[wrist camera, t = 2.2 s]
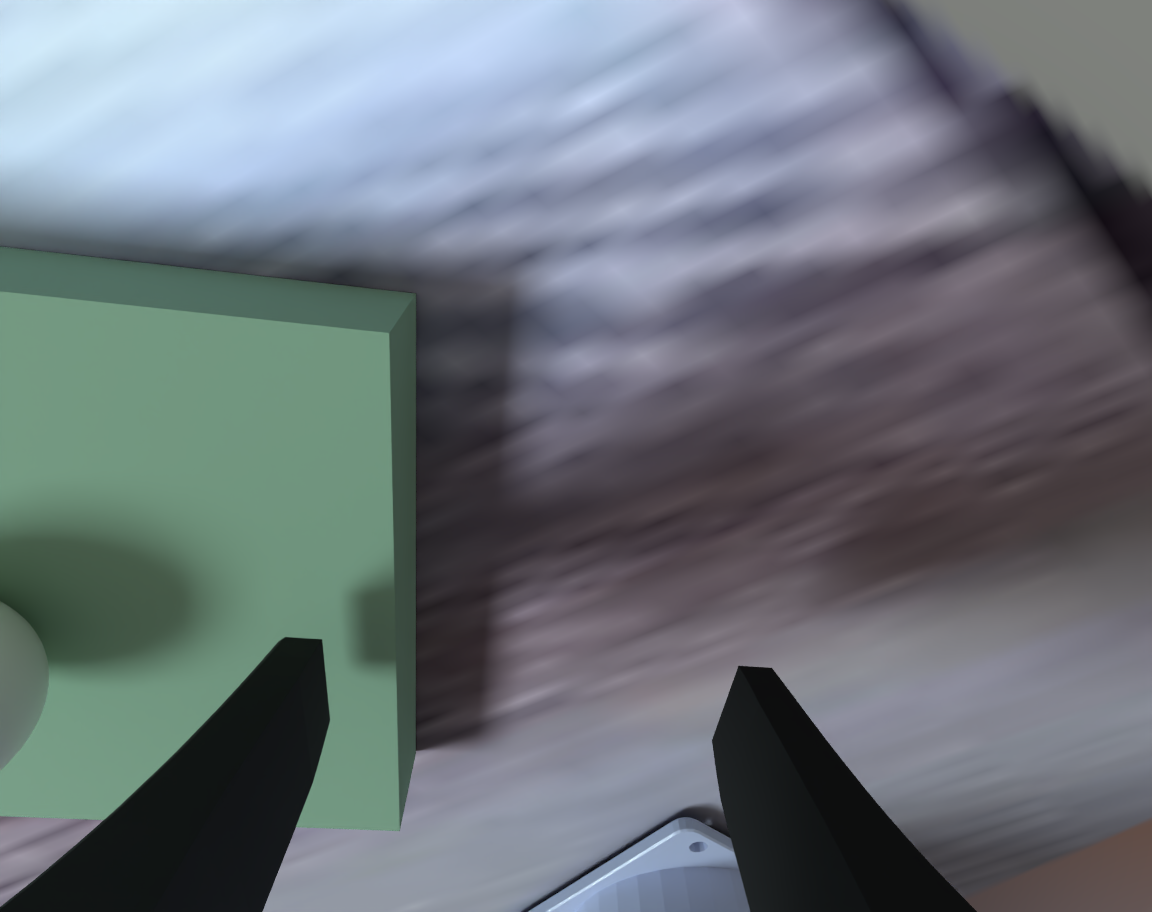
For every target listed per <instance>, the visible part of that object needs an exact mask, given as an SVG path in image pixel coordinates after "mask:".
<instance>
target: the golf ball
mask: <svg viewBox="0 0 1152 912" xmlns="http://www.w3.org/2000/svg"><path fill="white" fill-rule="evenodd" d="M48 687H49V666H48V660H47V656H46V653H45V649H44V647H43V644H42V642H41V640H40V638H39V637H38V635H37V633H36V632H35V630H34V629H33V628H32V626H31V625H30V624H29V623H28V622H27V621H26V620H25V618H23V617H22V616H21V615H20V614H19V613H18V612H16V611H15V610H14V609H12V608H11V607H9V606H8V605H6V604H4V603H3V602H1V601H0V771H1V770H2V769H3V768H4V767H5V766H6V765H7V763H8V762H9V761H10V760H11V759H12V758H13V757H14V756H15V755H16V754H17V753H18V751H19V750H20V749H21V748H22V746H23V745H24V744H25V742H26V741H27V739H28V738H29V737H30V735H31V733H32V731H33V730H34V728H35V726H36V724H37V722H38V720H39V718H40V716H41V714H42V711H43V708H44V705H45V702H46V698H47V693H48Z"/></svg>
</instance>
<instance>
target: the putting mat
mask: <svg viewBox="0 0 1152 912" xmlns="http://www.w3.org/2000/svg"><path fill="white" fill-rule="evenodd" d="M0 601H1V602H3V603H4V604H6V605H8V606H9V607H11V608H12V609H14V610H15V611H16V612H18V613H19V614H20V615H21V616H22V617H23V618H25V620H26V621H27V622H28V623H29V624H30V625H31V626H32V628H33V629H34V630H35V632H36V633H37V635H38V637H39V638H40V640H41V642H42V644H43V647H44V649H45V653H46V656H47V660H48V666H49V687H48V693H47V698H46V702H45V705H44V708H43V711H42V714H41V716H40V718H39V720H38V722H37V724H36V726H35V728H34V730H33V731H32V733H31V735H30V737H29V738H28V739H27V741H26V742H25V744H24V745H23V746H22V748H21V749H20V750H19V751H18V753H17V754H16V755H15V756H14V757H13V758H12V759H11V760H10V761H9V762H8V763H7V765H6V766H5V767H4V768H3V769H2V770H1V771H0V816H13V817H40V818H66V819H93V820H105V819H106V818H107V817H108V816H109V815H110V814H111V813H112V812H114V811H115V810H116V809H117V808H118V807H119V806H120V805H121V804H122V803H123V802H124V801H125V800H126V799H127V798H128V797H130V796H131V795H132V794H133V793H134V792H135V791H136V790H137V789H138V788H139V787H140V786H141V785H142V784H143V783H144V782H145V781H146V780H147V779H148V778H150V777H151V776H152V775H153V774H154V773H155V772H156V771H157V770H158V769H159V768H160V767H161V766H162V765H163V764H164V763H165V762H166V761H167V760H168V759H169V758H170V757H171V756H172V755H173V754H174V753H175V752H176V751H177V750H178V749H179V748H180V747H181V746H182V745H183V744H184V743H185V742H186V741H187V740H188V739H189V738H190V737H191V736H192V735H193V734H194V733H195V732H196V731H197V730H198V729H199V728H200V727H201V726H202V725H203V724H204V723H205V722H206V721H207V720H208V719H209V718H210V716H211V715H212V714H213V713H214V712H215V711H216V710H217V709H218V708H219V707H220V706H221V705H222V704H223V703H224V702H225V701H226V700H227V698H228V697H229V696H230V695H231V694H232V693H233V692H234V691H235V690H236V689H237V688H238V687H239V685H240V684H241V683H242V682H243V681H244V680H245V679H246V678H247V677H248V675H249V674H250V673H251V672H252V671H253V670H254V669H255V668H256V667H257V665H258V664H259V663H260V662H261V661H262V660H263V659H264V657H265V656H266V655H267V654H268V653H269V652H270V651H271V649H272V648H273V647H274V646H275V645H276V644H277V643H278V641H280V640H281V639H283V638H284V637H294V638H309V639H322V643H323V653H324V663H325V673H326V683H327V693H328V703H329V713H330V723H329V727H328V730H327V734H326V738H325V742H324V745H323V749H322V753H321V756H320V760H319V763H318V767H317V770H316V774H315V777H314V781H313V784H312V787H311V789H310V792H309V794H308V797H307V800H306V802H305V805H304V807H303V810H302V812H301V815H300V818H299V820H298V823H297V825H296V827H306V828H333V829H360V830H386V831H400V827H401V822H402V817H403V812H404V807H405V802H406V798H407V793H408V788H409V783H410V778H411V773H412V769H413V764H414V759H415V754H416V294H415V293H406V292H397V291H389V290H380V289H371V288H362V287H353V286H344V285H336V284H327V283H318V282H309V281H300V280H292V279H283V278H274V277H265V276H256V275H247V274H239V273H230V272H221V271H212V270H203V269H194V268H186V267H177V266H168V265H159V264H150V263H141V262H133V261H124V260H115V259H106V258H97V257H89V256H80V255H71V254H62V253H53V252H44V251H36V250H27V249H18V248H9V247H0Z"/></svg>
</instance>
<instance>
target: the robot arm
mask: <svg viewBox="0 0 1152 912" xmlns="http://www.w3.org/2000/svg"><path fill="white" fill-rule="evenodd" d="M329 723H330V713H329V703H328V693H327V683H326V673H325V663H324V653H323V643H322V639H309V638H294V637H284V638H283V639H281V640H280V641H278V643H277V644H276V645H275V646H274V647H273V648H272V649H271V651H270V652H269V653H268V654H267V655H266V656H265V657H264V659H263V660H262V661H261V662H260V663H259V664H258V665H257V667H256V668H255V669H254V670H253V671H252V672H251V673H250V674H249V675H248V677H247V678H246V679H245V680H244V681H243V682H242V683H241V684H240V685H239V687H238V688H237V689H236V690H235V691H234V692H233V693H232V694H231V695H230V696H229V697H228V698H227V700H226V701H225V702H224V703H223V704H222V705H221V706H220V707H219V708H218V709H217V710H216V711H215V712H214V713H213V714H212V715H211V716H210V718H209V719H208V720H207V721H206V722H205V723H204V724H203V725H202V726H201V727H200V728H199V729H198V730H197V731H196V732H195V733H194V734H193V735H192V736H191V737H190V738H189V739H188V740H187V741H186V742H185V743H184V744H183V745H182V746H181V747H180V748H179V749H178V750H177V751H176V752H175V753H174V754H173V755H172V756H171V757H170V758H169V759H168V760H167V761H166V762H165V763H164V764H163V765H162V766H161V767H160V768H159V769H158V770H157V771H156V772H155V773H154V774H153V775H152V776H151V777H150V778H148V779H147V780H146V781H145V782H144V783H143V784H142V785H141V786H140V787H139V788H138V789H137V790H136V791H135V792H134V793H133V794H132V795H131V796H130V797H128V798H127V799H126V800H125V801H124V802H123V803H122V804H121V805H120V806H119V807H118V808H117V809H116V810H115V811H114V812H112V813H111V814H110V815H109V816H108V817H107V818H106V819H105V820H103V821H102V822H101V823H100V824H99V825H98V826H97V827H96V828H95V829H93V830H92V831H91V832H90V833H89V834H88V835H87V836H85V837H84V838H83V839H82V840H81V841H80V842H79V843H77V844H76V845H75V846H74V847H73V848H72V849H70V850H69V851H68V852H67V853H66V854H65V855H63V856H62V857H61V858H60V859H59V860H57V861H56V862H55V863H54V864H53V865H52V866H50V867H49V868H48V869H47V870H46V871H45V872H43V873H42V874H41V875H40V876H38V877H37V878H36V879H35V880H34V881H32V882H31V883H30V884H29V885H27V886H26V887H25V888H24V889H22V890H21V891H20V892H19V893H17V894H16V895H15V896H14V897H12V898H11V899H10V900H9V901H7V902H6V903H5V904H4V905H2V906H1V907H0V912H262V911H263V909H264V906H265V903H266V901H267V898H268V896H269V893H270V891H271V888H272V886H273V883H274V881H275V878H276V876H277V873H278V871H279V868H280V866H281V863H282V861H283V858H284V856H285V853H286V851H287V848H288V845H289V843H290V840H291V838H292V835H293V833H294V830H295V828H296V825H297V823H298V820H299V818H300V815H301V812H302V810H303V807H304V805H305V802H306V800H307V797H308V794H309V792H310V789H311V787H312V784H313V781H314V777H315V774H316V770H317V767H318V763H319V760H320V756H321V753H322V749H323V745H324V742H325V738H326V734H327V730H328V727H329ZM712 744H713V751H714V758H715V765H716V773H717V779H718V785H719V791H720V797H721V803H722V806H723V810H724V814H725V818H726V822H727V826H728V830H729V834H730V837H731V838H729V837H727V836H725V835H724V834H722V833H720V832H718V831H716V830H714V829H712V828H711V827H709V826H707V825H705V824H703V823H701V822H700V821H698V820H696V819H693V818H690V817H683V818H678V819H676V820H673V821H672V822H670V823H668V824H667V825H665V826H664V827H662V828H660V829H659V830H657V831H656V832H654V833H652V834H651V835H649V836H648V837H646V838H644V839H643V840H641V841H640V842H638V843H636V844H635V845H633V846H632V847H630V848H628V849H627V850H625V851H624V852H622V853H620V854H619V855H617V856H616V857H614V858H613V859H611V860H609V861H608V862H606V863H605V864H603V865H601V866H600V867H598V868H597V869H595V870H593V871H592V872H590V873H589V874H587V875H585V876H584V877H582V878H581V879H579V880H577V881H576V882H574V883H573V884H571V885H569V886H568V887H566V888H565V889H563V890H561V891H560V892H558V893H557V894H555V895H553V896H552V897H550V898H549V899H547V900H545V901H544V902H542V903H541V904H539V905H537V906H536V907H534V908H533V909H531V910H529V911H528V912H977V911H976V910H975V909H974V908H973V907H972V906H971V905H970V904H969V903H968V902H967V901H966V900H965V899H964V898H963V897H962V896H961V895H960V894H959V893H958V892H957V891H956V890H955V889H954V888H953V887H952V886H951V885H950V884H949V883H948V882H947V881H946V880H945V879H944V878H943V877H942V876H941V874H940V873H939V872H938V871H937V870H936V869H935V868H934V867H933V866H932V865H931V864H930V863H929V862H928V861H927V860H926V859H925V857H924V856H923V855H922V854H921V853H920V852H919V851H918V850H917V849H916V848H915V847H914V845H913V844H912V843H911V842H910V841H909V840H908V839H907V837H906V836H905V835H904V834H903V833H902V832H901V831H900V829H899V828H898V827H897V826H896V825H895V824H894V823H893V821H892V820H891V819H890V818H889V817H888V816H887V815H886V813H885V812H884V811H883V810H882V809H881V807H880V806H879V805H878V804H877V803H876V801H875V800H874V799H873V798H872V797H871V795H870V794H869V793H868V792H867V791H866V789H865V788H864V787H863V786H862V784H861V783H860V782H859V781H858V779H857V778H856V777H855V776H854V774H853V773H852V772H851V771H850V769H849V768H848V767H847V766H846V764H845V763H844V762H843V761H842V759H841V758H840V757H839V756H838V754H837V753H836V752H835V751H834V749H833V748H832V747H831V745H830V744H829V743H828V742H827V740H826V739H825V738H824V736H823V735H822V734H821V732H820V731H819V730H818V728H817V727H816V726H815V724H814V723H813V722H812V721H811V719H810V718H809V717H808V715H807V714H806V713H805V711H804V710H803V709H802V707H801V706H800V705H799V703H798V702H797V701H796V699H795V698H794V697H793V695H792V694H791V693H790V691H789V690H788V689H787V687H786V686H785V685H784V683H783V682H782V681H781V679H780V678H779V677H778V675H777V674H776V673H775V672H774V670H773V669H772V668H764V667H748V666H738V669H737V672H736V675H735V678H734V680H733V683H732V686H731V689H730V692H729V694H728V697H727V700H726V703H725V706H724V708H723V711H722V714H721V717H720V720H719V722H718V725H717V728H716V731H715V734H714V736H713V739H712Z"/></svg>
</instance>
